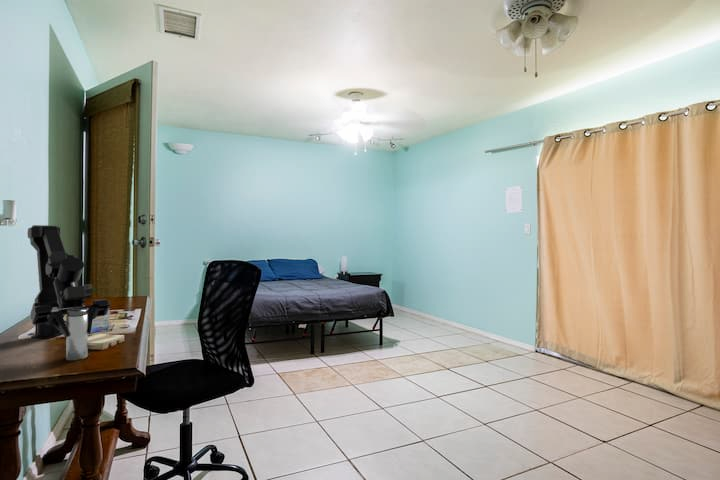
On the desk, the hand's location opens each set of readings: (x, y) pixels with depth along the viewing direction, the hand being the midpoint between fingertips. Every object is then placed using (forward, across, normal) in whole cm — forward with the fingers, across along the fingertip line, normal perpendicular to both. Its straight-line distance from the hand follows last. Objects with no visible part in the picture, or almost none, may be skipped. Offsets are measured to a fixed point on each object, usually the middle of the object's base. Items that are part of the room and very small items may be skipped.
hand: (78, 334), depth 118 cm
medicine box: (-17, +14, +28) cm, 36 cm away
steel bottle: (+4, 0, +6) cm, 7 cm away
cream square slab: (-3, +9, +13) cm, 16 cm away
